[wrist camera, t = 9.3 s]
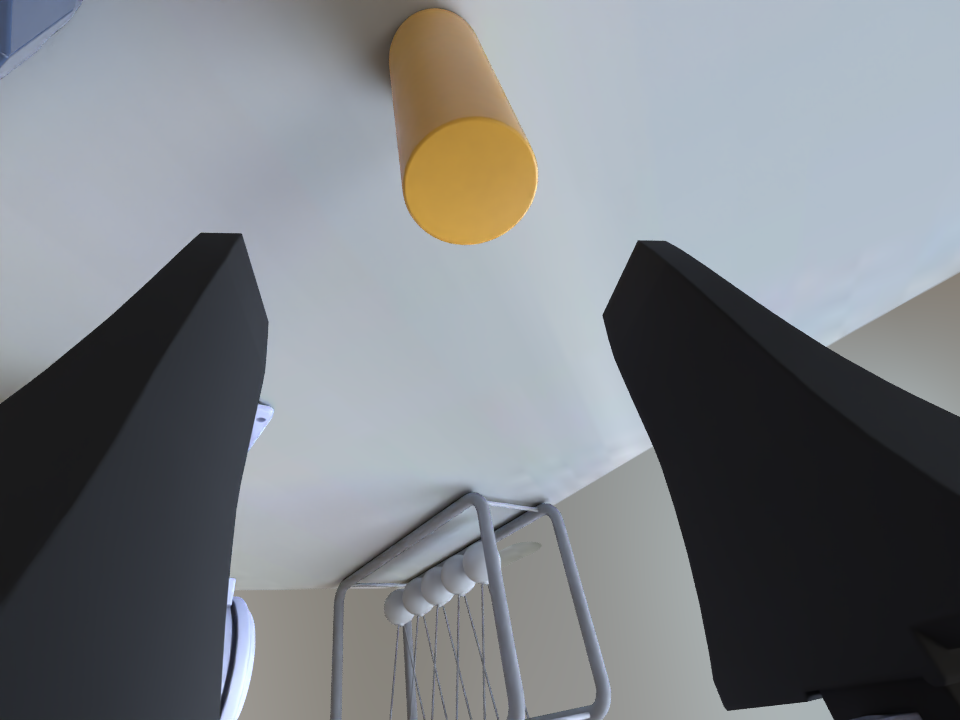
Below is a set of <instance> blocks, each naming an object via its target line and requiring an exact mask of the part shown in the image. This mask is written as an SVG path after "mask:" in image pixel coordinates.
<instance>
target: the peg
mask: <svg viewBox="0 0 960 720" xmlns="http://www.w3.org/2000/svg"><path fill="white" fill-rule="evenodd" d="M389 70H390V79H391V88H392V97H393V106H394V116H395V125H396V134H397V143H398V152H399V162H400V171H401V180H402V189H403V196H404V201H405V204H406V206H407V209H408V211H409V213H410V215H411V216H412V218H413V219H414V220H415V222H416V223H417V224H418V225H419V226H420V227H421V228H422V229H423V230H424V231H426V232H427V233H428V234H430V235H431V236H433V237H435V238H437V239H439V240H441V241H445V242H448V243H452V244H460V245H472V244H479V243H483V242H487V241H490V240H492V239H495V238H497V237H499V236H501V235H503V234H504V233H506V232H507V231H509V230H510V229H511V228H513V227H514V226H515V225H516V224H517V223H518V222H519V221H520V220H521V219H522V218H523V216H524V215H525V214H526V212H527V211H528V209H529V207H530V205H531V203H532V201H533V199H534V196H535V193H536V189H537V183H538V167H537V162H536V158H535V155H534V153H533V150H532V148H531V146H530V144H529V142H528V140H527V138H526V136H525V134H524V132H523V130H522V128H521V126H520V124H519V122H518V119H517V117H516V115H515V113H514V111H513V109H512V107H511V105H510V103H509V101H508V99H507V97H506V95H505V93H504V91H503V89H502V87H501V85H500V83H499V81H498V79H497V77H496V75H495V73H494V71H493V69H492V67H491V65H490V63H489V61H488V59H487V57H486V55H485V53H484V50H483V48H482V46H481V44H480V42H479V40H478V38H477V36H476V35H475V33H474V31H473V30H472V28H471V27H470V26H469V24H468V23H467V22H466V21H465V20H464V19H462V18H461V17H460V16H458V15H457V14H455V13H453V12H451V11H448V10H445V9H440V8H431V9H425V10H421V11H419V12H417V13H414V14H413V15H411V16H410V17H408V18H407V19H406V20H405V21H404V22H403V23H402V24H401V26H400V27H399V28H398V30H397V32H396V33H395V35H394V38H393V40H392V43H391V46H390V52H389Z"/></svg>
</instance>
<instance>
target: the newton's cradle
mask: <svg viewBox="0 0 960 720" xmlns="http://www.w3.org/2000/svg"><path fill="white" fill-rule="evenodd" d="M472 505H474V506H475V508H476V510H477V514H478V520H479V526H480V532H481V538H482V539H481V540H479V541H477V542H475V543H474V544H472V545H470V546H469V547H467V548H465V549H464V550H462V551H460V552H459V553H457V554H455V555H454V556H452V557H450V558H448V559H447V560H445V561H443V562H442V563H440V564H438V565H437V566H435V567H433V568H432V569H430V570H428V571H427V572H425V573H423V574H421V575H420V576H418V577H416V578H415V579H413V580H411V581H410V582H409V583H408V584H397V583H357V582H359V581H360V580H362V579H363V578H365V577H366V576H368V575H369V574H371V573H372V572H374V571H375V570H377V569H378V568H380V567H381V566H383V565H384V564H386V563H387V562H389V561H390V560H392V559H393V558H395V557H396V556H398V555H399V554H401V553H402V552H404V551H405V550H406V549H408V548H409V547H411V546H412V545H414V544H415V543H417V542H418V541H420V540H421V539H423V538H424V537H426V536H427V535H429V534H430V533H432V532H433V531H435V530H436V529H438V528H439V527H441V526H442V525H444V524H445V523H447V522H448V521H450V520H451V519H453V518H454V517H456V516H457V515H459V514H460V513H462V512H463V511H464V510H466V509H467V508H469V507H470V506H472ZM489 505H490V506H497V507H505V508H512V509H519V510H527V511H528V512H526V513H524V514H523V515H521V516H519V517H518V518H516V519H514V520H513V521H511V522H509V523H508V524H506V525H504V526H502V527H501V528H499V529H497V530H496V531H494V529H493V524H492V518H491V513H490V509H489ZM544 515H548V516H549V517H550V518H551V520H552V523H553V527H554V531H555V535H556V538H557V542H558V546H559V550H560V553H561V557H562V561H563V565H564V568H565V572H566V576H567V579H568V583H569V587H570V591H571V595H572V598H573V602H574V606H575V610H576V613H577V617H578V621H579V624H580V628H581V632H582V636H583V639H584V643H585V647H586V651H587V655H588V658H589V662H590V666H591V670H592V673H593V677H594V681H595V685H596V699H595V702H594V703H593V704H592V705H590V706H585V707H580V708H575V709H571V710H566V711H561V712H557V713H552V714H547V715H543V716H538V717H533V718H529V716H528V712H527V709H526V706H525V701H524V693H523V687H522V682H521V676H520V672H519V666H518V660H517V655H516V649H515V644H514V639H513V633H512V628H511V622H510V616H509V611H508V606H507V600H506V595H505V590H504V584H503V578H502V573H501V567H500V566H501V559H500V555H499V553H498V551H497V546H496V542H498V541H500V540H502V539H503V538H505V537H507V536H508V535H510V534H512V533H514V532H516V531H517V530H519V529H521V528H523V527H524V526H526V525H528V524H530V523H531V522H533V521H535V520H537V519H539V518H540V517H542V516H544ZM488 582H489V584H488ZM475 583H482V585H481V586H482V587H481V588H482V641H483V642H482V645H483V658H482V654H481V651H480V647H479V643H478V640H477V636H476V633H475V629H474V625H473V621H472V618H471V614H470V610H469V607H468V603H467V599H466V596H465V594H466V593H468V592H469V591H470V590H471V589H472V588H473V587H474V585H475ZM483 585H488V588H489V591H490V594H491V599H492V605H493V611H494V617H495V623H496V629H497V635H498V641H499V648H500V653H501V660H502V665H503V672H504V677H505V684H506V689H507V696H508V705H509V711H508V717H507V720H602V719H603V718H604V716H605V715H606V714H607V712H608V710H609V706H610V703H611V689H610V684H609V679H608V676H607V672H606V669H605V665H604V661H603V658H602V655H601V651H600V647H599V644H598V640H597V637H596V633H595V630H594V626H593V623H592V619H591V616H590V612H589V609H588V605H587V602H586V598H585V594H584V591H583V588H582V584H581V580H580V577H579V574H578V570H577V566H576V563H575V559H574V556H573V552H572V548H571V545H570V541H569V538H568V534H567V531H566V527H565V524H564V520H563V518H562V515H561V513H560V512H559V510H558V509H557V508H556V507H554V506H553V505H551V504H545V503H544V504H541V505H538V506H536V507H535V508H534V507H528V506H521V505H514V504H507V503H500V502H493V501H486V499H485V498H484V497H483V496H482V495H480V494H479V493H475V492H470V493H468V494H466V495H464V496H463V497H461V498H460V499H458V500H457V501H456V502H454V503H453V504H451V505H450V506H448V507H447V508H446V509H444V510H443V511H441V512H440V513H439V514H437V515H436V516H434V517H433V518H431V519H430V520H429V521H427V522H426V523H424V524H423V525H421V526H420V527H419V528H417V529H416V530H414V531H413V532H412V533H410V534H409V535H407V536H406V537H404V538H403V539H402V540H400V541H399V542H397V543H396V544H395V545H393V546H392V547H390V548H389V549H387V550H386V551H385V552H383V553H382V554H380V555H379V556H377V557H376V558H375V559H373V560H372V561H370V562H369V563H368V564H366V565H365V566H363V567H362V568H360V569H359V570H358V571H356V572H355V573H353V574H352V575H351V576H349V577H348V578H346V579H345V580H343V581H342V582H341V583H340V585H339V587H338V589H337V592H336V595H335V600H334V621H333V652H332V653H333V654H332V655H333V656H332V683H331V715H330V720H341V711H342V710H341V709H342V662H343V612H344V608H343V607H344V597H345V594H346V591H347V589H349V588H350V587H405V588H404V589H397V590H395V591H393V592H392V593H390V594H389V596H388V597H387V598H386V601H385V604H384V613H385V616H386V618H387V620H388V621H389V622H391V623H392V624H394V625H398V631H397V643H396V654H395V665H394V676H393V688H392V699H391V710H390V720H391V716H392V704H393V693H394V680H395V669H396V658H397V647H398V635H399V627H403V639H404V659H405V679H406V698H407V716H408V720H417V705H416V688H415V681H416V686H417V690H418V695H419V700H420V704H421V709H422V714H423V718H424V720H425V715H424V711H423V707H422V702H421V698H420V693H419V688H418V684H417V679H416V674H415V660H416V645H417V633H418V619H419V617H423V618H424V623H425V628H426V632H427V636H428V640H429V645H430V650H431V654H432V659H433V663H434V675H433V695H432V716H431V720H433V710H434V688H435V672H436V677H437V681H438V686H439V690H440V695H441V699H442V704H443V708H444V713H445V717H446V720H448V719H447V714H446V710H445V706H444V701H443V696H442V692H441V688H440V683H439V679H438V674H437V670H436V665H435V664H436V644H437V643H436V642H437V623H438V607H439V608H440V607H443V610H444V614H445V619H446V623H447V627H448V631H449V635H450V639H451V643H452V647H453V651H454V655H455V659H456V663H457V685H456V688H457V689H456V720H458V671H459V675H460V679H461V683H462V688H463V692H464V696H465V700H466V704H467V708H468V712H469V716H470V720H472V717H471V713H470V709H469V705H468V701H467V697H466V693H465V689H464V685H463V681H462V677H461V673H460V669H459V602H460V597H463V596H464V598H465V602H466V605H467V609H468V613H469V616H470V620H471V624H472V627H473V631H474V635H475V638H476V642H477V646H478V650H479V653H480V657H481V661H482V664H483V701H484V702H483V703H484V704H483V706H484V720H486V712H485V676H486V679H487V683H488V686H489V690H490V694H491V698H492V701H493V705H494V709H495V712H496V716H497V720H499V717H498V714H497V709H496V706H495V702H494V699H493V695H492V691H491V688H490V684H489V680H488V677H487V673H486V669H485V658H484V612H483V611H484V609H483V608H484V607H483ZM453 595H458V629H457V657H456V653H455V649H454V645H453V641H452V636H451V632H450V628H449V624H448V620H447V616H446V612H445V608H444V606H443V605H444V604H446V603H447V602H449V600H451V598H452V597H453ZM434 605H435V606H437V612H436V633H435V634H436V635H435V653H434V656H433V652H432V648H431V643H430V639H429V634H428V630H427V625H426V621H425V617H424V614H426V613H427V612H429V611H430V610H431V609H432V607H433V606H434ZM414 615H418V616H417V626H416V640H415V653H414V656H413V641H412V625H411V619H412V618H413V616H414ZM525 712H526V715H527V719H525Z"/></svg>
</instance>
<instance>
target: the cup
mask: <svg viewBox="0 0 960 720" xmlns="http://www.w3.org/2000/svg"><path fill="white" fill-rule="evenodd" d="M82 1H83V0H0V80H1V79H2V78H4V77H5V76H6V75H7V74H9V73H10V72H11V71H13V70H14V69H15V68H16V67H18V66H19V65H20V64H22V63H23V62H24V61H25V60H27V59H28V58H29V57H31V56H32V55H33V54H34V53H36V52H37V50H38V49H39V48H40V47H41V46H42V45H43V44H44V43H45V42H46V41H47V40H48V39H49V37H51V36H52V35H53V34H55V33H56V32H57V31H58V30H59V29H60V28H62V27H63V26H64V25H65V24H66V23H67V22H69V21H70V19H71V18H72V16H73V15H74V14H75V12H76V11H77V10H78V8H79V7H80V5H81V3H82Z"/></svg>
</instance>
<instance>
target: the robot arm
mask: <svg viewBox="0 0 960 720" xmlns="http://www.w3.org/2000/svg"><path fill="white" fill-rule="evenodd" d="M603 319H604V323H605V327H606V331H607V335H608V339H609V342H610V346H611V349H612V352H613V356H614V359H615V361H616V363H617V366H618V368H619V370H620V373H621V375H622V377H623V380H624V382H625V384H626V387H627V389H628V391H629V393H630V396H631V398H632V400H633V402H634V404H635V407H636V409H637V411H638V413H639V416H640V418H641V420H642V422H643V424H644V427H645V429H646V431H647V433H648V436H649V438H650V440H651V442H652V445H653V447H654V449H655V452H656V454H657V457H658V459H659V462H660V465H661V467H662V470H663V473H664V477H665V480H666V483H667V486H668V489H669V492H670V495H671V498H672V501H673V505H674V507H675V511H676V515H677V518H678V522H679V525H680V529H681V532H682V536H683V539H684V543H685V546H686V550H687V553H688V558H689V562H690V566H691V570H692V574H693V579H694V583H695V587H696V591H697V595H698V599H699V604H700V608H701V614H702V619H703V624H704V629H705V635H706V640H707V644H708V649H709V656H710V661H711V668H712V674H713V680H714V683H715V686H716V688H717V691H718V693H719V695H720V698H721V700H722V703H723V705H724V707H725V708H726V710H727V711H730V710H739V709H747V708H756V707H765V706H774V705H782V704H791V703H800V702H808V701H812V700H816V699H820V698H823V699H824V701H825V703H826V705H827V707H828V709H829V711H830V713H831V715H832V717H833V719H834V720H960V417H959V416H957V415H954V414H952V413H950V412H948V411H946V410H944V409H942V408H940V407H938V406H935V405H934V404H931V403H929V402H927V401H925V400H923V399H921V398H919V397H917V396H915V395H913V394H911V393H909V392H907V391H905V390H903V389H901V388H899V387H897V386H895V385H893V384H891V383H889V382H887V381H885V380H883V379H882V378H880V377H878V376H876V375H875V374H873V373H871V372H869V371H867V370H865V369H864V368H862V367H860V366H858V365H856V364H854V363H853V362H851V361H849V360H847V359H845V358H844V357H842V356H840V355H839V354H837V353H835V352H834V351H832V350H830V349H829V348H827V347H825V346H824V345H822V344H820V343H819V342H817V341H816V340H814V339H813V338H811V337H809V336H808V335H806V334H805V333H803V332H802V331H800V330H798V329H797V328H795V327H794V326H792V325H791V324H789V323H787V322H786V321H785V320H783V319H782V318H780V317H779V316H777V315H776V314H774V313H773V312H771V311H770V310H768V309H767V308H765V307H764V306H762V305H761V304H759V303H758V302H756V301H755V300H754V299H752V298H751V297H749V296H748V295H746V294H745V293H744V292H742V291H741V290H739V289H738V288H736V287H735V286H734V285H732V284H731V283H729V282H728V281H726V280H725V279H724V278H722V277H721V276H719V275H718V274H716V273H715V272H714V271H712V270H711V269H709V268H708V267H706V266H705V265H704V264H702V263H701V262H699V261H698V260H696V259H695V258H693V257H692V256H690V255H689V254H687V253H685V252H684V251H682V250H681V249H679V248H677V247H676V246H674V245H672V244H670V243H668V242H667V241H640V240H638V241H637V243H636V246H635V248H634V250H633V252H632V254H631V256H630V258H629V260H628V262H627V265H626V267H625V269H624V271H623V273H622V275H621V277H620V279H619V281H618V284H617V286H616V288H615V290H614V292H613V294H612V296H611V298H610V300H609V303H608V305H607V307H606V309H605V311H604V313H603ZM267 339H268V319H267V316H266V312H265V309H264V306H263V302H262V299H261V296H260V292H259V289H258V286H257V283H256V279H255V276H254V273H253V269H252V266H251V263H250V259H249V256H248V253H247V249H246V246H245V243H244V239H243V236H242V234H239V233H200V234H199V235H198V236H197V237H195V238H194V239H193V240H192V241H191V242H190V243H189V244H188V245H187V246H185V247H184V248H183V249H182V250H181V251H180V252H179V253H178V254H177V255H176V256H175V257H174V258H173V259H172V260H171V261H170V262H169V263H168V264H167V265H165V266H164V267H163V268H162V269H161V270H160V271H159V272H158V273H157V274H156V275H155V276H154V277H153V278H152V279H151V280H150V281H149V282H147V283H146V284H145V285H144V286H143V287H142V288H141V289H140V290H139V291H138V292H137V293H135V294H134V295H133V296H132V297H131V298H130V299H129V300H128V301H127V302H126V303H125V304H123V305H122V306H121V307H120V308H119V309H118V310H117V311H116V312H115V313H114V314H112V315H111V316H110V317H109V318H108V319H107V320H106V321H104V322H103V323H102V324H101V325H99V326H98V327H97V328H96V329H95V330H93V331H92V332H91V333H90V334H89V335H87V336H86V337H85V338H84V339H83V340H81V341H80V342H79V343H78V344H77V345H75V346H74V347H73V348H72V349H70V350H69V351H68V352H67V353H66V354H64V355H63V356H62V357H61V358H60V359H58V360H57V361H56V362H55V363H54V364H52V365H51V366H50V367H49V368H48V369H46V370H45V371H44V372H42V373H41V374H40V375H38V376H37V377H36V378H34V379H33V380H32V381H31V382H29V383H28V384H27V385H25V386H24V387H22V388H21V389H20V390H18V391H17V392H16V393H14V394H13V395H12V396H10V397H9V398H8V399H6V400H5V401H3V402H2V403H1V404H0V720H237V719H238V717H239V714H240V712H241V709H242V707H243V704H244V701H245V698H246V695H247V691H248V687H249V683H250V679H251V674H252V668H253V661H254V653H255V625H254V620H253V617H252V614H251V613H250V611H249V610H248V607H247V604H246V603H245V601H244V600H243V599H242V598H241V597H236V596H235V597H233V593H234V587H235V581H236V579H235V578H229V576H230V564H231V555H232V545H233V536H234V526H235V517H236V508H237V502H238V496H239V491H240V485H241V480H242V475H243V471H244V466H245V462H246V457H247V453H248V451H249V450H250V448H251V447H252V445H253V444H254V442H255V441H256V440H257V438H258V437H259V435H260V434H261V432H262V431H263V430H264V428H265V427H266V425H267V424H268V423H269V421H270V420H271V418H272V417H273V412H274V410H273V409H272V408H271V407H269V406H266V405H261V404H258V402H259V398H260V393H261V388H262V384H263V379H264V374H265V365H266V353H267Z"/></svg>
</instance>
